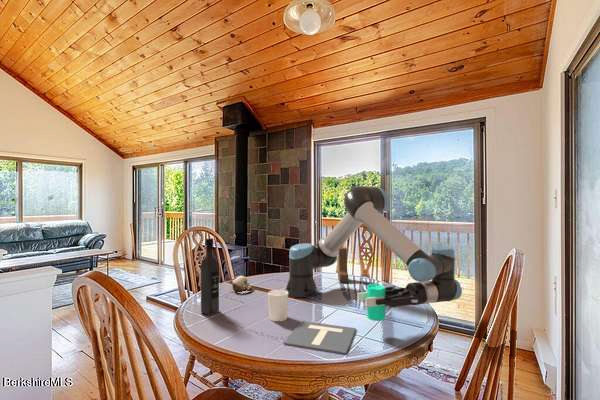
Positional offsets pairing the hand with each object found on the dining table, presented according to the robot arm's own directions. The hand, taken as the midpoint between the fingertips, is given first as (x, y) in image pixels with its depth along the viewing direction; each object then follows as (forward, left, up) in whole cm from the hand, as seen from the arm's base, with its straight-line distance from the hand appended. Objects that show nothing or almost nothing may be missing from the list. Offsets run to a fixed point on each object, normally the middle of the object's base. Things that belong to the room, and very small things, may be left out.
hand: (362, 299), depth 102 cm
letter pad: (-13, -4, -13) cm, 18 cm away
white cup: (-33, +6, -13) cm, 36 cm away
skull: (-65, +33, -13) cm, 74 cm away
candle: (+4, +3, -7) cm, 9 cm away
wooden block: (-20, +67, -13) cm, 71 cm away
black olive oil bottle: (-62, +3, -13) cm, 63 cm away
